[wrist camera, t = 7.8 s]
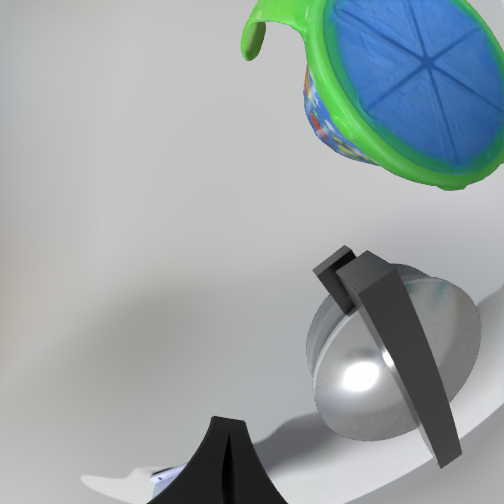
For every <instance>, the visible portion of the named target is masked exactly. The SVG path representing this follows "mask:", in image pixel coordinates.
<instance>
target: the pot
mask: <svg viewBox="0 0 504 504" xmlns="http://www.w3.org/2000/svg"><path fill="white" fill-rule="evenodd" d="M355 258H357V257H356V256H355V255H354V253H353V251H352V250H351V249H350V248H348V247H347V246H345V245H344V246H343V247H342V248H340V249H339V250H338V251H336V252H335V253H334V254H333V255H331V256H330V257H329V258H327V259H326V260H325V261H324V262H322V263H321V264H320V265H318V266H317V267H316V268H314V269H313V272H314V273H315V274H316V275H317V277H318V278H319V280H320V281H321V282H322V284H323V285H324V286H325V288H326V289H327V290H328V292H329V293H330V295H329V296H328V297H327V298H326V299H325V300H324V302H323V303H322V305H321V306H320V307H319V309H318V311H317V313H316V314H315V316H314V318H313V321H312V324H311V326H310V329H309V332H308V336H307V343H306V355H307V362H308V365H309V368H310V371H311V374H312V377H313V376H314V370H315V366H316V362H317V359H318V357H319V354H320V352H321V350H322V348H323V346H324V344H325V342H326V340H327V339H328V337H329V336H330V334H331V333H332V331H333V330H334V329H335V327H336V326H337V325H338V323H339V322H340V321H341V320H342V319H343V318H344V317H345V315H346V314H348V313H349V312H350V311H351V310H352V309H353V308H354V307H355V305H354V303H353V301H352V299H351V297H350V296H349V294H348V292H347V290H346V289H345V287H344V285H343V284H342V282H341V280H340V278H339V277H338V275H337V273H336V271H337V270H339V269H340V268H342V267H343V266H345V265H346V264H348V263H349V262H351V261H352V260H354V259H355ZM391 265H393V266H395V267H396V268H397V270H398V272H399V274H400V277H401V279H402V280H403V279H407V278H413V277H424V276H428V275H426V274H425V273H423V272H421V271H419V270H418V269H415V268H413V267H411V266H407V265H403V264H391ZM428 277H430V276H428Z"/></svg>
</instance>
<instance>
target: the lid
mask: <svg viewBox="0 0 504 504" xmlns="http://www.w3.org/2000/svg"><path fill="white" fill-rule="evenodd" d="M336 273H337V275H338V277H339V278H340V280H341V282H342V284H343V285H344V287H345V289H346V290H347V292H348V294H349V296H350V297H351V299H352V301H353V303H354V305H355V307H354V308H353V309H352V310H351V311H350V312H349V313H348V314H346V315H345V317H344V318H343V319H342V320H341V321H340V322H339V323H338V325H337V326H336V327H335V329H334V330H333V331H332V333H331V334H330V336H329V337H328V339H327V340H326V342H325V344H324V346H323V348H322V350H321V352H320V354H319V357H318V359H317V362H316V366H315V370H314V376H313V394H314V399H315V403H316V406H317V409H318V412H319V414H320V416H321V418H322V419H323V421H324V422H325V424H326V425H327V426H328V427H329V428H330V429H331V430H333V431H334V432H336V433H337V434H339V435H341V436H344V437H346V438H349V439H353V440H359V441H378V440H385V439H389V438H393V437H397V436H400V435H402V434H405V433H407V432H410V431H412V430H414V429H416V428H418V429H419V431H420V433H421V435H422V438H423V440H424V442H425V444H426V445H427V447H428V449H429V450H430V452H431V454H432V455H433V457H434V458H435V460H436V462H437V463H438V465H439V467H440V468H443V467H444V466H446V465H447V464H449V463H450V462H451V461H453V460H454V459H456V458H457V457H459V456H460V455H461V454H462V451H461V447H460V443H459V438H458V434H457V431H456V427H455V423H454V419H453V416H452V412H451V409H450V405H449V403H450V402H451V401H452V399H453V398H454V397H455V396H456V395H457V393H458V392H459V391H460V389H461V388H462V386H463V385H464V383H465V382H466V380H467V378H468V377H469V375H470V373H471V371H472V368H473V366H474V364H475V361H476V358H477V355H478V351H479V346H480V339H481V324H480V318H479V314H478V311H477V308H476V306H475V304H474V303H473V301H472V299H471V298H470V297H469V296H468V295H467V293H465V292H464V291H463V290H462V289H461V288H459V287H457V286H455V285H453V284H452V283H450V282H448V281H446V280H443V279H440V278H436V277H428V276H424V277H413V278H407V279H403V280H402V279H401V277H400V274H399V272H398V270H397V268H396V267H395V266H393V265H391V264H390V263H388V262H386V261H385V260H383V259H381V258H380V257H378V256H376V255H375V254H373V253H371V252H370V251H368V250H367V251H366V252H364V253H363V254H362V255H360V256H358V257H357V258H355V259H354V260H352V261H351V262H349V263H348V264H346V265H345V266H343V267H342V268H340V269H339V270H337V271H336Z"/></svg>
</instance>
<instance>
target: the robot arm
mask: <svg viewBox="0 0 504 504" xmlns="http://www.w3.org/2000/svg"><path fill="white" fill-rule="evenodd" d="M150 480H151V481H152V482H153V483H155V488H154V492H153V496H152V499H151V501H149V502H148V503H147V504H288V503H287V502H286V501H285V500H284V498H283V497H282V496H281V494H280V493H279V492H278V491H277V489H276V488H275V486H274V485H273V483H272V482H271V480H270V479H269V477H268V475H267V474H266V472H265V470H264V468H263V466H262V464H261V462H260V460H259V458H258V456H257V454H256V452H255V449H254V447H253V445H252V442H251V439H250V437H249V433H248V430H247V426H246V423H245V422H244V421H242V420H236V419H229V418H223V417H218V416H213V417H212V418H211V423H210V425H209V428H208V431H207V433H206V435H205V437H204V439H203V441H202V442H201V444H200V446H199V448H198V449H197V451H196V452H195V454H194V455H193V457H192V458H191V460H190V461H189V462H188V463H185V464H183V465H180V466H177V467H175V468H172V469H170V470H167V471H164V472H161V473H158V474H156V475H153V476H151V477H150Z"/></svg>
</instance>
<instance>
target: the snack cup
mask: <svg viewBox="0 0 504 504" xmlns="http://www.w3.org/2000/svg"><path fill="white" fill-rule="evenodd" d="M269 21H275V22H279V23H283V24H286V25H289V26H291V27H292V28H293V29H295V30H297V31H298V32H299V33H300V34H301V36H302V38H303V40H304V43H305V50H306V57H307V69H306V76H305V84H304V91H303V95H304V103H305V104H304V105H305V111H306V115H307V117H308V120H309V122H310V124H311V126H312V128H313V129H314V132H315V134H316V136H318V137H319V139H320V140H321V141H322V142H323V143H325V144H326V145H328V146H329V147H330V148H332V149H333V150H334V151H335V152H337V153H339V154H341V155H343V156H345V157H348V158H350V159H353V160H357V161H361V162H365V163H369V164H373V165H377V166H381V167H383V168H385V169H386V170H388V171H390V172H391V173H393V174H395V175H397V176H400V177H402V178H405V179H408V180H411V181H413V182H417V183H421V184H426V185H431V186H437V187H439V188H441V189H443V190H449V191H451V190H460V189H464V188H465V187H466V186H467V185H469V184H472V183H475V182H478V181H481V180H483V179H484V178H485V177H487V176H489V175H490V174H491V173H492V172H494V171H495V170H496V169H497V167H498V166H499V165H500V164H503V163H504V52H503V50H502V48H501V46H500V44H499V43H498V41H497V39H496V37H495V36H494V34H493V33H492V31H491V30H490V28H489V27H488V25H487V24H486V23H485V21H484V20H483V19H482V18H481V16H480V15H479V14H478V12H477V11H476V10H474V8H473V7H472V6H471V5H470V4H469V3H468V2H467V1H466V0H259V1H258V2H257V4H256V5H255V7H254V8H253V11H252V13H251V15H250V17H249V19H248V21H247V23H246V25H245V27H244V30H243V34H242V39H241V51H242V55H243V57H244V58H245V59H246V60H247V61H251V60H253V59H254V58H255V57H256V56H257V55H258V53H259V51H260V49H261V46H262V43H263V40H264V35H265V31H266V25H265V22H269Z"/></svg>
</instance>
